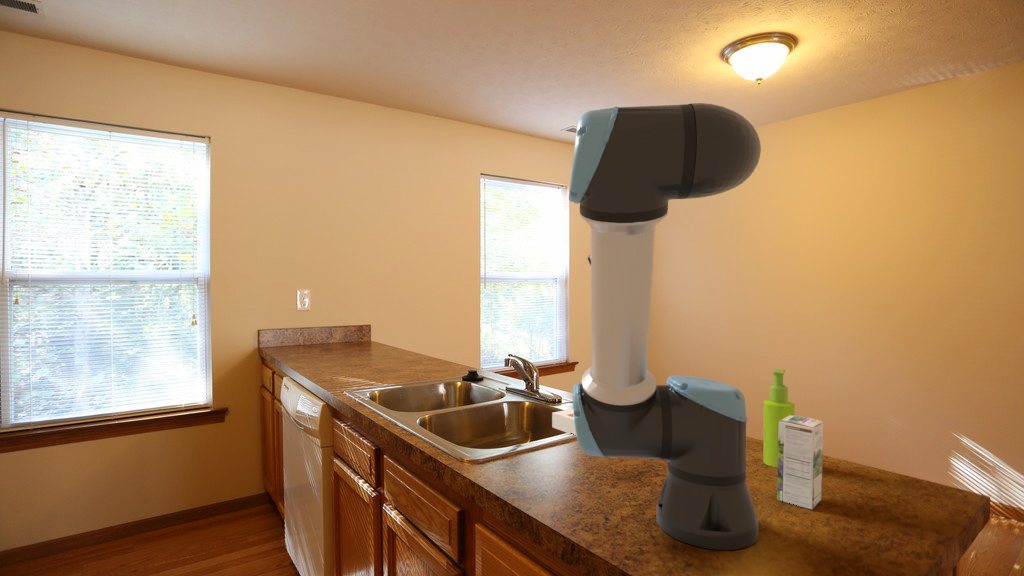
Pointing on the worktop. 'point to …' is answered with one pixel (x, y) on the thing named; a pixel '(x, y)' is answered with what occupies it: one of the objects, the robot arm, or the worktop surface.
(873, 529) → the worktop surface
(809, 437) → the syrup box
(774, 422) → the soap dispenser
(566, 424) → the button panel
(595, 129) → the robot arm
